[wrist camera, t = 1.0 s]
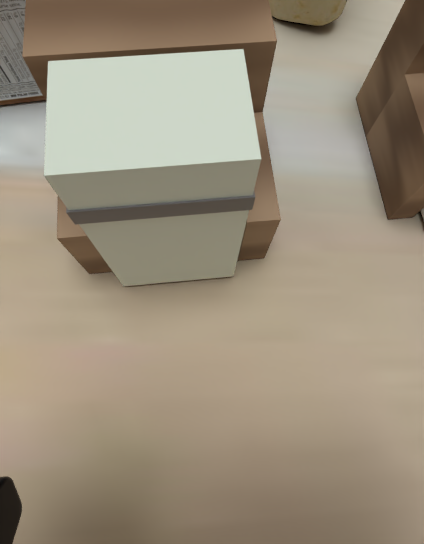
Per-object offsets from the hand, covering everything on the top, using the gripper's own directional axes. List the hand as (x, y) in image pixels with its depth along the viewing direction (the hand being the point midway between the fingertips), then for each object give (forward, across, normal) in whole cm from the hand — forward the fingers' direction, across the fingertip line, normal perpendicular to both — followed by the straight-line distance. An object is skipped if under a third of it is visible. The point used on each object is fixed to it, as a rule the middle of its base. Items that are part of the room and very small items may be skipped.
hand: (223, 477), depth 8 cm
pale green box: (+15, +2, 0) cm, 15 cm away
